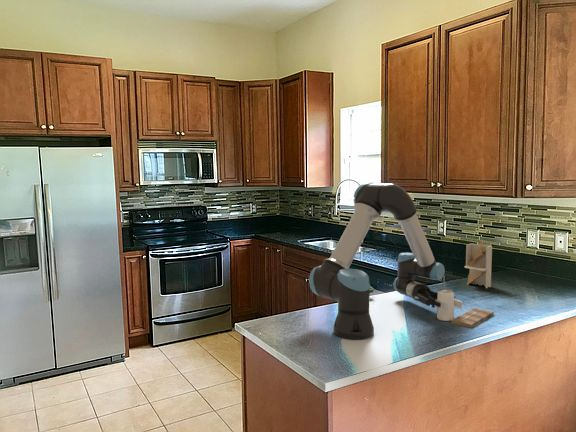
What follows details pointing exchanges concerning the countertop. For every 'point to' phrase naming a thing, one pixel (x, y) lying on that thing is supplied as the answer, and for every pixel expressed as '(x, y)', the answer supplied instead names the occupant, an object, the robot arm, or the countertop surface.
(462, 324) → the walnut board
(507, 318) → the countertop surface
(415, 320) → the countertop surface
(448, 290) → the can
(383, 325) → the countertop surface
